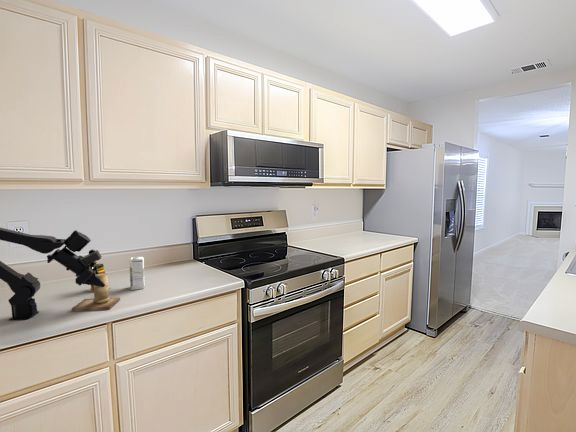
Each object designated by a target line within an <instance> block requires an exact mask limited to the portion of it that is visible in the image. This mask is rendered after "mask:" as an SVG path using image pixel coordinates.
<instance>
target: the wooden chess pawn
mask: <svg viewBox="0 0 576 432" xmlns="http://www.w3.org/2000/svg"><path fill="white" fill-rule="evenodd" d="M96 276H97V277H98V278H99V279H100V280H101V281H102V282H103V283H104V284H105V286H104V287H100V286H94V292H93V296H94V297H93V298H92V299H93V302H94V303H103V302H107V301H109V300H110V298H111V296H110V295H109V289H108V288H109V282H108V281H109V280H108V277H109V276H108V273H106V272H105V273H103V274H96Z"/></svg>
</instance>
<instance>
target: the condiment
mask: <svg viewBox="0 0 576 432" xmlns="http://www.w3.org/2000/svg"><path fill="white" fill-rule="evenodd" d="M96 265H97V271H98V272H99V273H100V274H103V273H105V274H106V270H105V269H104V268H105V267H104V263H96ZM96 265H94V266H93V267H95V266H96ZM109 289H110V287H108V290H109ZM85 291H87V292H88V291H89V293H94V285H90V288H86V289H85Z"/></svg>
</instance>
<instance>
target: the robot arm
mask: <svg viewBox="0 0 576 432" xmlns="http://www.w3.org/2000/svg"><path fill="white" fill-rule="evenodd" d="M0 241H3V242H7V243H14V244H17V245H21V246H25V247H27V248H29V249H31V250H33V251H35V252H38V253H40V254H48V255H47V256H46V258H47V259H46V260H47V264H49V263H51V262H52V261H53V260H54V261H55V262H57V263H59V264H60V265H62V267H64V268H66V269H65V271H71V272H72V273H73V274H75V277H76V278H75V279H74V281H75V284H76V285H78V286H82V285H90V286H91V285H94V286H100V287H104V286H105V284H104V283H103V282H102V281H101V280H100V279H99V278H98V277H97V276H96V274H100V273H99V272H98V271H97V265H96V264H98V263H97V261H100V260H101V259H102V257H103V256H102V255H101V253H100V251H99V250H95V249H90V250H89V251H88V254H87V255H84V256H82V255H77V254H76V252H79V253H80V252H81V251H82V250H83V249H84V248H85V247H86V246H87V245H88V244H90V243H91V239H90V237H88V236H87V235H86V234H84V233H82V232H80V231H78V230H76V229H75V230H73V231H72V233H71V234H69V236H68V237H67V238H56V237H55V236H52V235H43V234H30V233H25V232H20V231H16V230H12V229H8V228H5V227H0ZM64 245H65V246H64ZM62 246H63V248H61V247H62ZM60 248H61V249H60ZM53 251H54V252H53ZM52 252H53V253H52ZM50 253H51V254H50ZM94 265H96V266H95V267H93V266H94ZM0 280H1V281H3V282H5V283H6V284H7V286H8V287H9V289H10V290H11V292H12V293H14V294H13V295H12V296H11V297H10V298H9V299H8V303H9V304H10V307H11V308H10V309H11V317H10V318H8V320H9V321H17V320H18V321H19V320H29V319H31V318H32V317H34V316H35V315H37V314H39V312H40V311H39V310H38V307H37V306H38V305H37V302H36V299H35V295H36V293H37V292H38V291H39V290H40V289H41V282H40V281H39V277H36V276H33V274H32V273H30V272H27V273H25V274H23V273H22V274H21V273H20V272H18V271H16V270H14V269H13V268H12V267H10V266H8V265H7V264H5V263H4V262H2V261H1V260H0ZM33 297H34V298H33Z"/></svg>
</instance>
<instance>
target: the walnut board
mask: <svg viewBox="0 0 576 432" xmlns="http://www.w3.org/2000/svg"><path fill="white" fill-rule="evenodd" d="M120 301H121V297H110V300H109V301H107V302H103V303H94V302H93V298H84V299H82V300H81V301H79V302H78V303H76V305H74V306H73V307H72V308H71V312H83V311H87V312H88V311H106V310H108V311H109V310H111V309H112V308H113V307H115V305H117V304H118V303H119V302H120Z"/></svg>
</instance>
